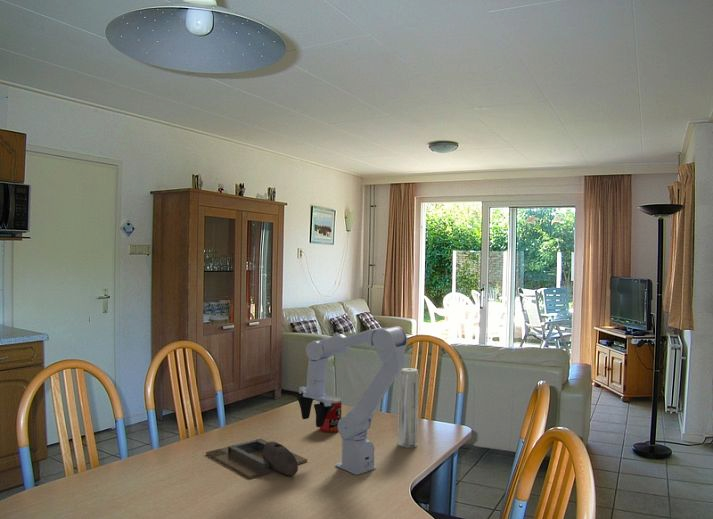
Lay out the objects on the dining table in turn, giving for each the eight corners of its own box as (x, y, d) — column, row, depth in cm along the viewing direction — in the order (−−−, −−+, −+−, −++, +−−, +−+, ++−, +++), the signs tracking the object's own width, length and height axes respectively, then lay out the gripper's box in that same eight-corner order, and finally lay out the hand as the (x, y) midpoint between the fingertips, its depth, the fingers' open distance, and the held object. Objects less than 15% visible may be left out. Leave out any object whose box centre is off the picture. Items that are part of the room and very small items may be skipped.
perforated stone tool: (303, 477, 156) (304, 452, 156) (287, 482, 153) (288, 456, 153) (276, 461, 168) (276, 438, 168) (260, 465, 165) (261, 442, 165)
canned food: (332, 434, 195) (332, 402, 195) (314, 429, 200) (315, 399, 200) (345, 429, 201) (346, 398, 201) (328, 425, 206) (329, 395, 206)
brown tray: (307, 461, 168) (307, 451, 168) (249, 478, 154) (250, 468, 154) (260, 441, 186) (261, 432, 186) (205, 454, 173) (206, 445, 173)
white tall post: (417, 441, 188) (418, 367, 188) (417, 448, 182) (418, 371, 182) (398, 441, 189) (399, 366, 189) (397, 447, 182) (398, 370, 182)
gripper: (292, 374, 175) (288, 416, 176) (319, 386, 164) (315, 432, 165) (311, 372, 180) (307, 413, 180) (338, 384, 168) (334, 428, 169)
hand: (312, 422), depth 173 cm, fingers open, 7 cm apart
